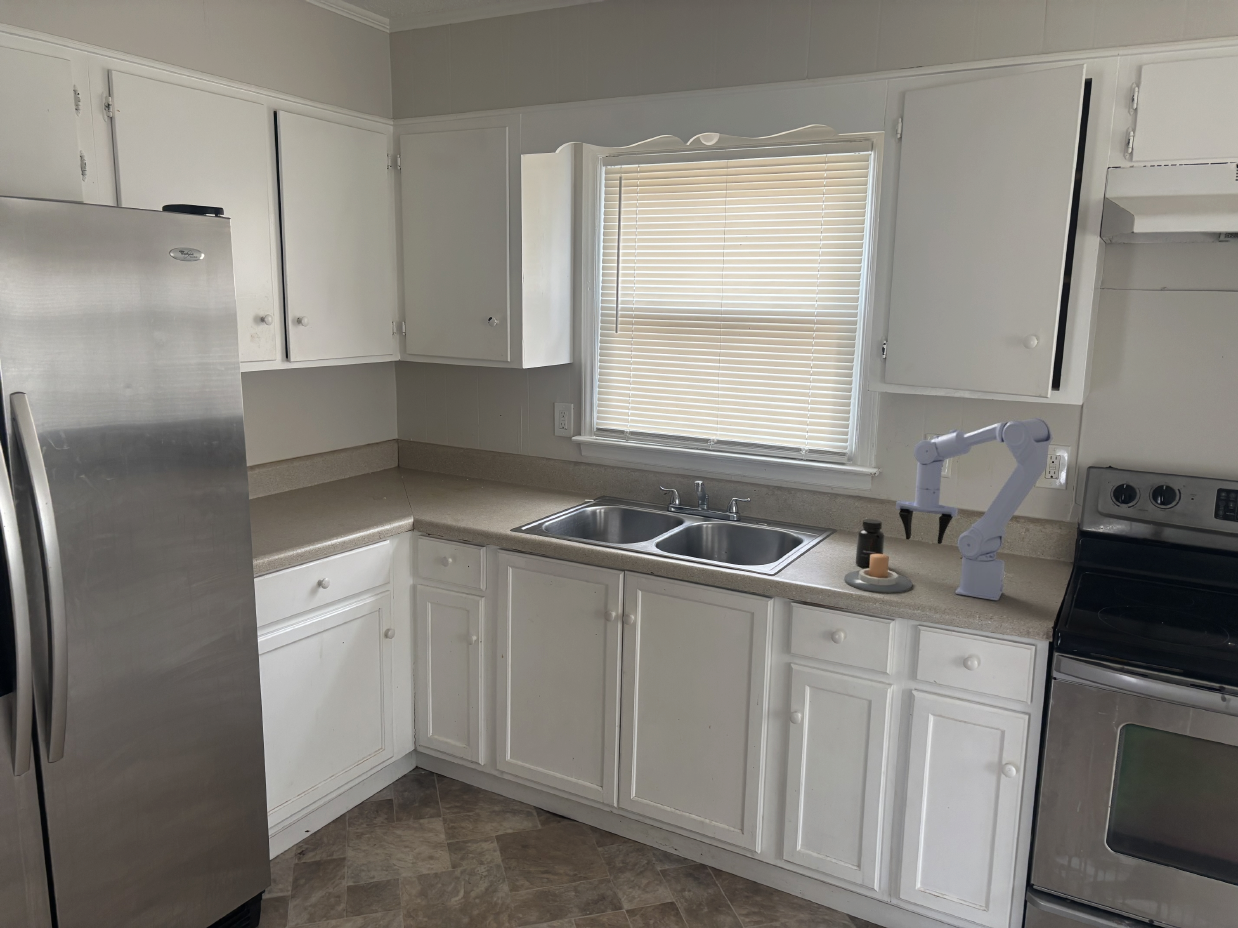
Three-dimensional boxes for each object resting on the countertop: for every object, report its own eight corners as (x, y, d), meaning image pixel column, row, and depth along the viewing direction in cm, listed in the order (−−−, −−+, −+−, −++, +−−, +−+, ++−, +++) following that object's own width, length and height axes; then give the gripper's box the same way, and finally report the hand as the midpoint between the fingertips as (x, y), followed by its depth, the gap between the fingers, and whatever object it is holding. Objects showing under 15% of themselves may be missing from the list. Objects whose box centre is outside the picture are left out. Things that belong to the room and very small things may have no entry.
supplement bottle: (864, 569, 233) (867, 524, 231) (850, 562, 239) (853, 518, 237) (887, 568, 235) (890, 523, 233) (873, 560, 241) (876, 517, 239)
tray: (918, 579, 225) (919, 570, 225) (902, 597, 211) (903, 587, 211) (854, 569, 233) (855, 560, 233) (836, 585, 219) (836, 576, 219)
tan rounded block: (890, 579, 222) (892, 556, 221) (881, 583, 219) (882, 559, 218) (874, 575, 225) (876, 552, 224) (865, 579, 222) (866, 555, 221)
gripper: (961, 488, 223) (957, 541, 226) (902, 481, 231) (898, 533, 233) (956, 493, 217) (951, 547, 220) (895, 486, 225) (891, 539, 227)
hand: (923, 540), depth 226 cm, fingers open, 7 cm apart
